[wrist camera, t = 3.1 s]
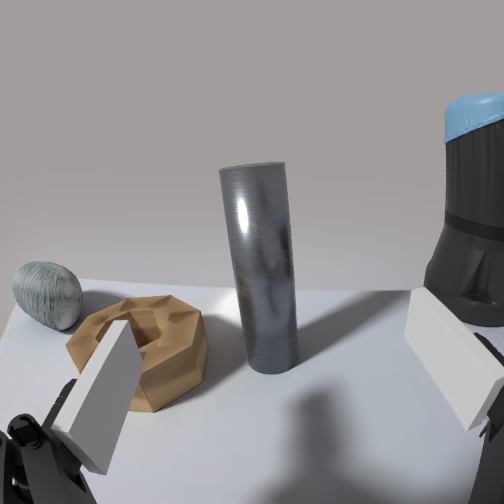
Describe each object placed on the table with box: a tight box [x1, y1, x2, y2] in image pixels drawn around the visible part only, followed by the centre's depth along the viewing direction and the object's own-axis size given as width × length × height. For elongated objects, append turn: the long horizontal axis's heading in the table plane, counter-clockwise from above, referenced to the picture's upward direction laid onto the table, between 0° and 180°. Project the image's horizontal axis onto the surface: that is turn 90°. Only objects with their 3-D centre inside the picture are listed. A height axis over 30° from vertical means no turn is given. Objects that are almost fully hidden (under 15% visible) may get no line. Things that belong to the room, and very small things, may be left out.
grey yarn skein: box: [13, 262, 82, 330], centre depth 32 cm, size 14×10×10 cm
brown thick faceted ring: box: [66, 295, 208, 413], centre depth 24 cm, size 12×12×4 cm
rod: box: [219, 162, 298, 374], centre depth 22 cm, size 4×4×16 cm
